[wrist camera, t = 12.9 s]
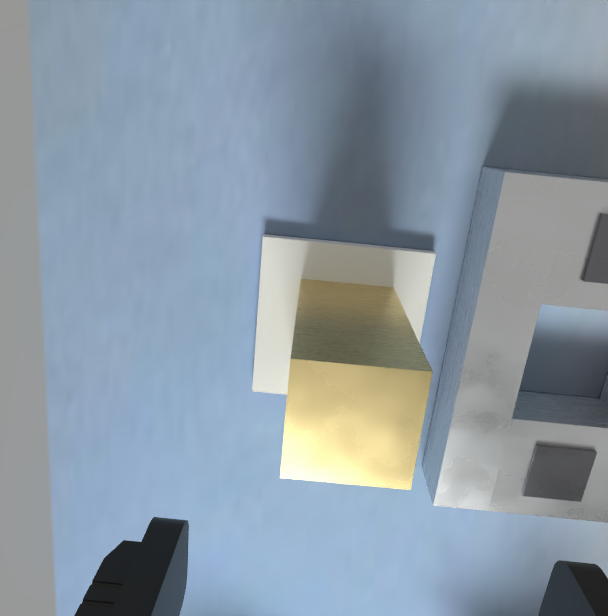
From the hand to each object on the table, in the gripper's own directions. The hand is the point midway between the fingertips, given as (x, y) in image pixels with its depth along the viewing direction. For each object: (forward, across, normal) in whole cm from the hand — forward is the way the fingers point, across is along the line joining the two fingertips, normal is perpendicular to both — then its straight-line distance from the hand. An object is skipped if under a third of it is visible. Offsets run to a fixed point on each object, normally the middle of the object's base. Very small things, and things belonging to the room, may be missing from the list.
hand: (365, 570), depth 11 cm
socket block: (+15, -11, 0) cm, 19 cm away
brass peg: (+15, 0, 0) cm, 15 cm away
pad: (+15, 0, 0) cm, 15 cm away
